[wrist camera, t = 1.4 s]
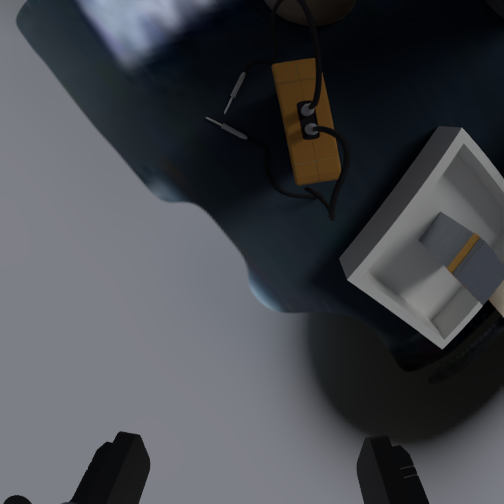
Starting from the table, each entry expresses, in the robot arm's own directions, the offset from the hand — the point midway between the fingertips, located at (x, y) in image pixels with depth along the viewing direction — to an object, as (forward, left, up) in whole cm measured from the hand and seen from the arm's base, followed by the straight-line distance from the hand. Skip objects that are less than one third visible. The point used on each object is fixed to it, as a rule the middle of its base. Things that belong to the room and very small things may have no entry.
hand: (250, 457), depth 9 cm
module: (-10, +15, -24) cm, 30 cm away
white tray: (-10, +15, -25) cm, 31 cm away
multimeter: (-7, -7, -25) cm, 27 cm away
